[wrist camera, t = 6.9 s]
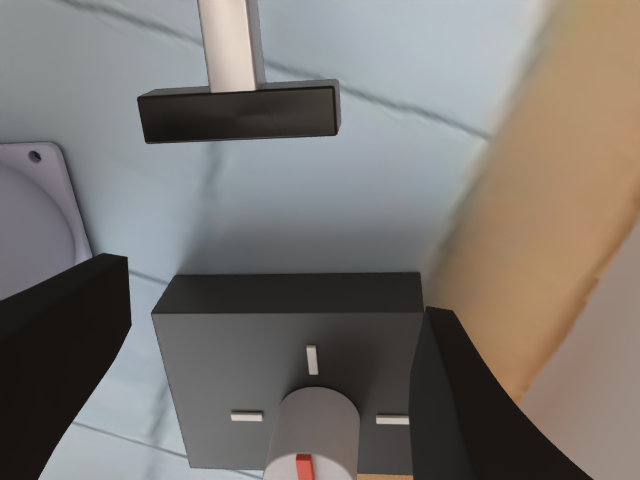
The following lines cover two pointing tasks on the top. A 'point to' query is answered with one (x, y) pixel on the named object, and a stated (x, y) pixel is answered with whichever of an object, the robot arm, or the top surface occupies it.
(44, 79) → the top surface
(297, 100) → the lever
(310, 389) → the dial
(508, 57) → the top surface
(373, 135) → the top surface
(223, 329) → the control panel
